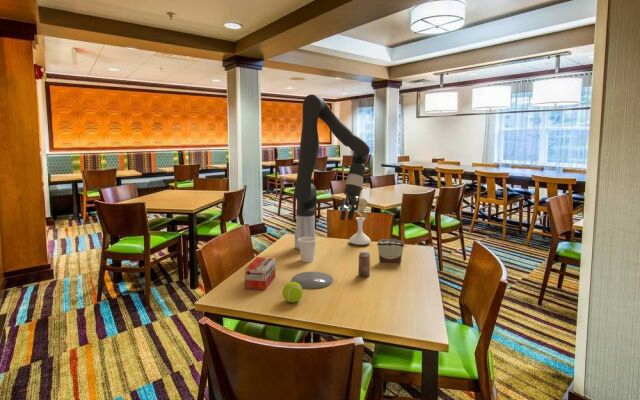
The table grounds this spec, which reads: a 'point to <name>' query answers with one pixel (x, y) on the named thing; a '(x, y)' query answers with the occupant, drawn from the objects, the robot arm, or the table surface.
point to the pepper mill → (364, 264)
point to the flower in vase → (360, 225)
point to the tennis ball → (292, 292)
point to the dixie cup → (307, 248)
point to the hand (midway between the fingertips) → (345, 220)
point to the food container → (390, 251)
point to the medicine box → (260, 273)
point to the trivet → (313, 280)
